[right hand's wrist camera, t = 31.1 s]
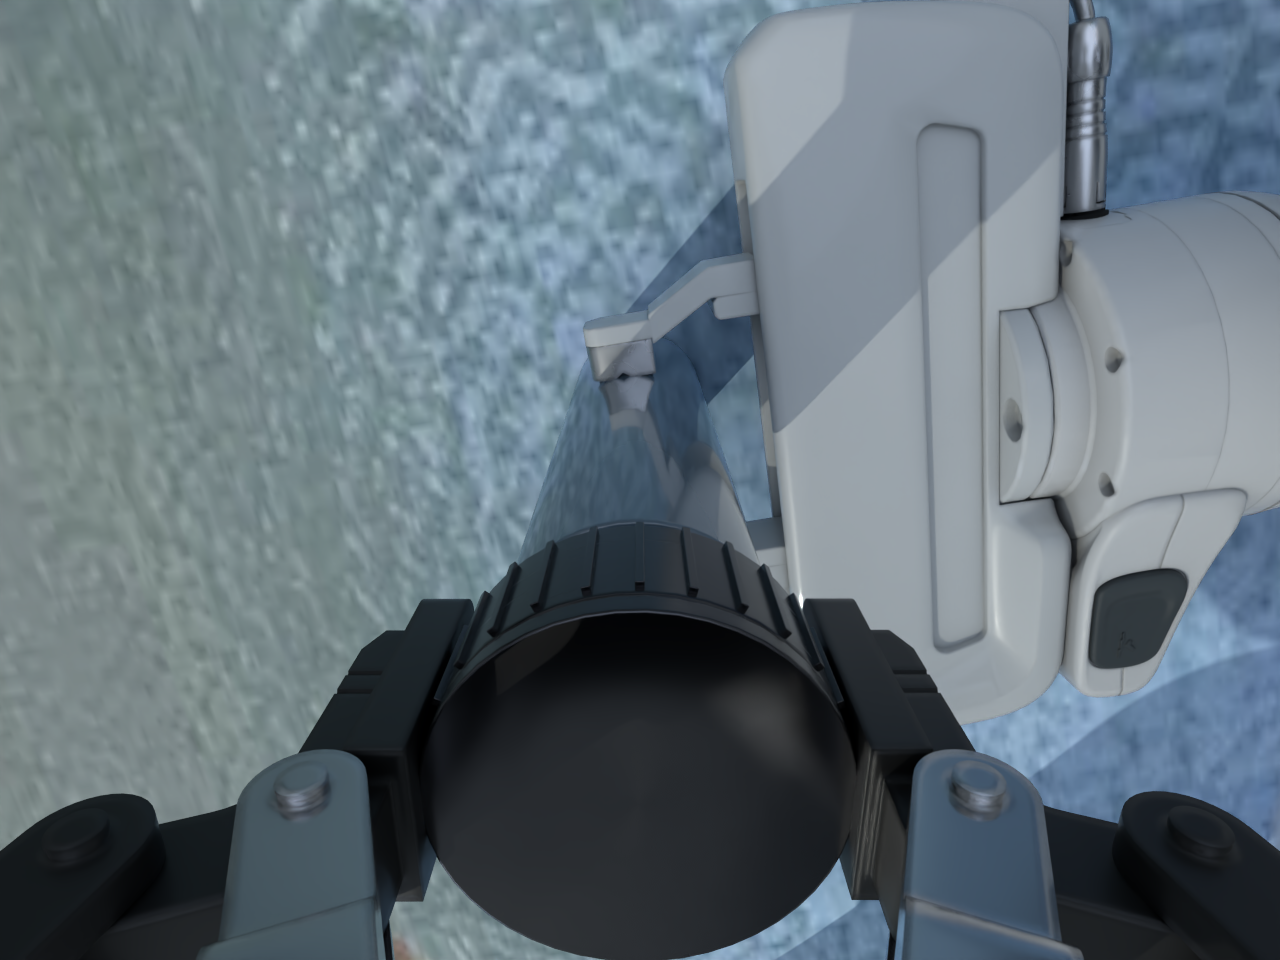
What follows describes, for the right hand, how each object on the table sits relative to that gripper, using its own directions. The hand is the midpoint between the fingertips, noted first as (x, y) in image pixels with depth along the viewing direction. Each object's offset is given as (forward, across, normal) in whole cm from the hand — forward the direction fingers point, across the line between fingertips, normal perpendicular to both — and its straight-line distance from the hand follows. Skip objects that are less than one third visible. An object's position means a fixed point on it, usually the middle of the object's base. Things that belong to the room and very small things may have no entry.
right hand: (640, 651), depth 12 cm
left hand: (+11, -1, 0) cm, 11 cm away
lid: (-3, 0, 0) cm, 3 cm away
